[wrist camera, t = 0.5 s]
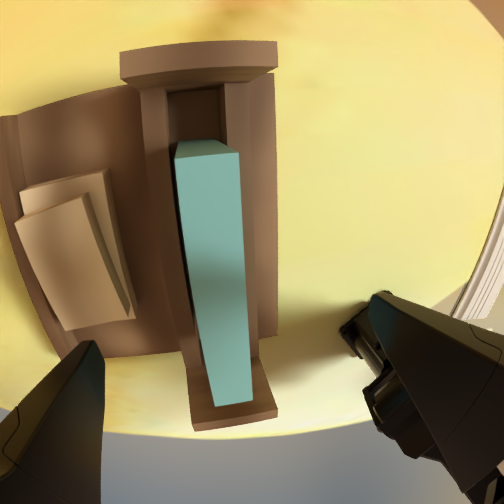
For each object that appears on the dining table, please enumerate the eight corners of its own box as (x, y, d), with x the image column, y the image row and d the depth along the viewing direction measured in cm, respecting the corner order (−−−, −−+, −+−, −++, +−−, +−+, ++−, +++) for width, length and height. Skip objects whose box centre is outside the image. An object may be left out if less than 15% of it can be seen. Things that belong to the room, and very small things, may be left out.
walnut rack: (268, 75, 17) (335, 47, 9) (273, 326, 26) (310, 408, 18) (12, 119, 14) (-73, 132, 6) (77, 350, 22) (56, 433, 14)
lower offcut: (108, 168, 16) (102, 172, 15) (138, 305, 21) (135, 318, 19) (29, 186, 15) (19, 192, 14) (67, 312, 19) (62, 325, 18)
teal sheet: (211, 137, 17) (238, 152, 9) (225, 304, 22) (252, 400, 14) (178, 140, 17) (174, 158, 9) (199, 308, 22) (215, 406, 14)
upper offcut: (88, 191, 15) (81, 197, 14) (130, 305, 19) (128, 317, 17) (24, 215, 14) (14, 223, 13) (70, 318, 18) (65, 331, 17)
